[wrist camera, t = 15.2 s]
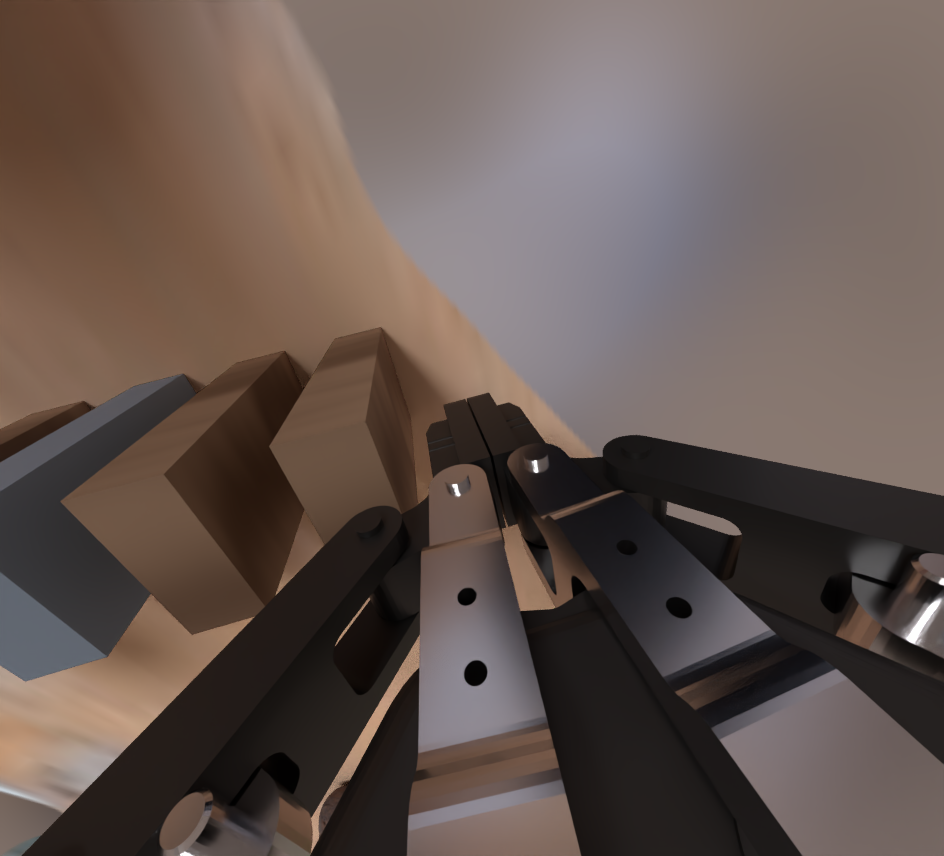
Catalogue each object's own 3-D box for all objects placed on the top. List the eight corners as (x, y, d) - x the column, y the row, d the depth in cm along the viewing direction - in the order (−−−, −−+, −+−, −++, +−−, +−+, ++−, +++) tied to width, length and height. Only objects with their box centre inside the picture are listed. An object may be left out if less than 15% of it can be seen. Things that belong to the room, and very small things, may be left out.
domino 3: (334, 338, 17) (269, 446, 8) (381, 327, 17) (365, 421, 8) (370, 430, 19) (349, 588, 11) (410, 419, 19) (422, 567, 11)
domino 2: (236, 362, 17) (59, 501, 8) (284, 350, 17) (163, 474, 8) (285, 452, 19) (191, 634, 10) (327, 441, 19) (269, 612, 10)
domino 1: (133, 386, 16) (-168, 557, 8) (183, 373, 16) (-57, 527, 8) (197, 474, 19) (25, 681, 10) (240, 462, 19) (107, 656, 10)
